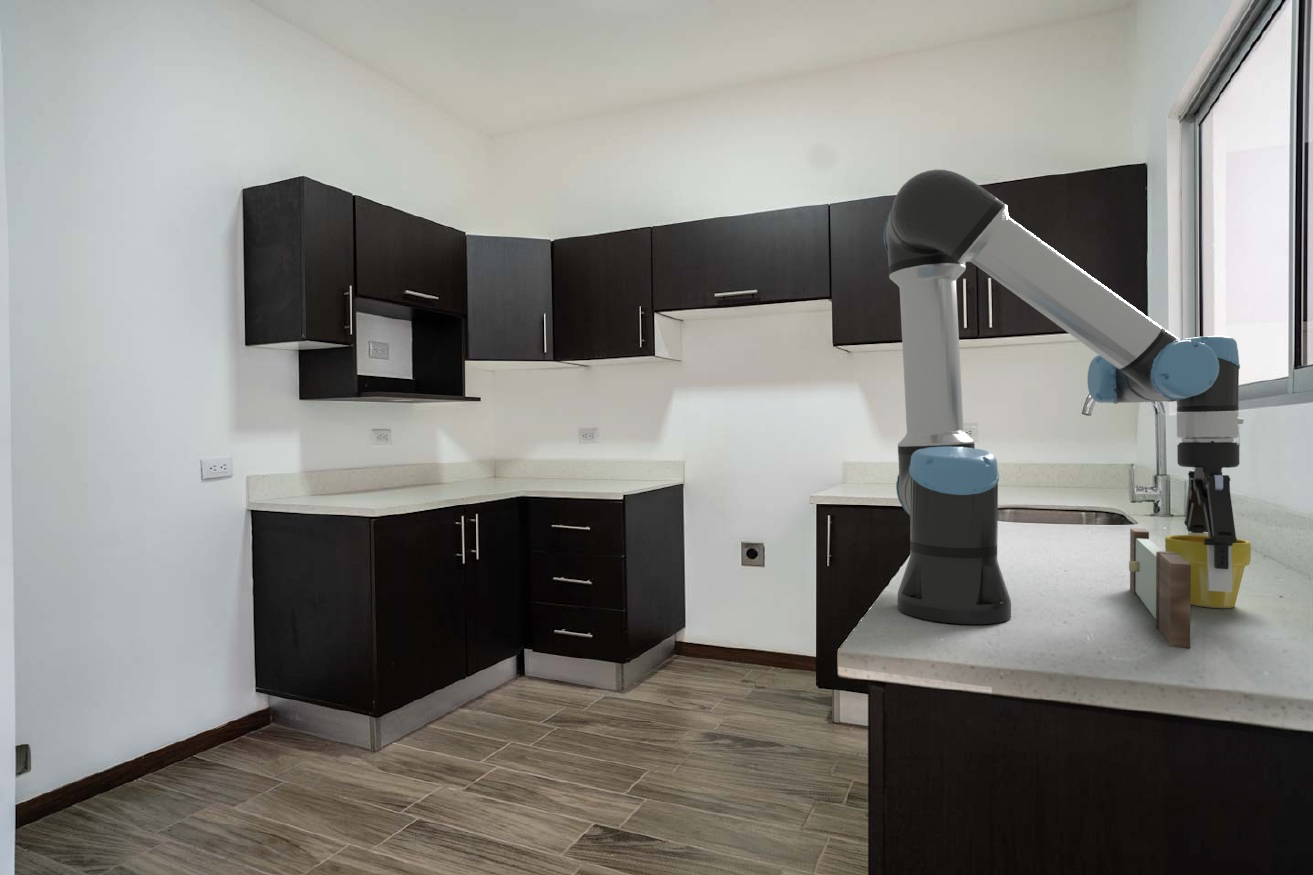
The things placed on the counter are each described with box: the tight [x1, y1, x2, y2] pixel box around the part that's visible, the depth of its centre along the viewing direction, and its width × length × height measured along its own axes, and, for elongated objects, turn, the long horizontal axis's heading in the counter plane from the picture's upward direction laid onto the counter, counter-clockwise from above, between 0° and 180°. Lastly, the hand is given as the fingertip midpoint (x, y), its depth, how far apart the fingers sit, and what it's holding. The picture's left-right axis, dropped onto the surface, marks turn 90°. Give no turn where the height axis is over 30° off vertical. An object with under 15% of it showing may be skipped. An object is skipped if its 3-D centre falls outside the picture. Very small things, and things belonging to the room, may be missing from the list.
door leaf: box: [1128, 538, 1163, 620], centre depth 110 cm, size 3×21×8 cm, turn 154°
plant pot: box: [1164, 534, 1252, 609], centre depth 114 cm, size 10×10×10 cm
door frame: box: [1129, 527, 1192, 649], centre depth 107 cm, size 2×36×10 cm, turn 155°
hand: (1208, 582), depth 113 cm, fingers open, 13 cm apart
